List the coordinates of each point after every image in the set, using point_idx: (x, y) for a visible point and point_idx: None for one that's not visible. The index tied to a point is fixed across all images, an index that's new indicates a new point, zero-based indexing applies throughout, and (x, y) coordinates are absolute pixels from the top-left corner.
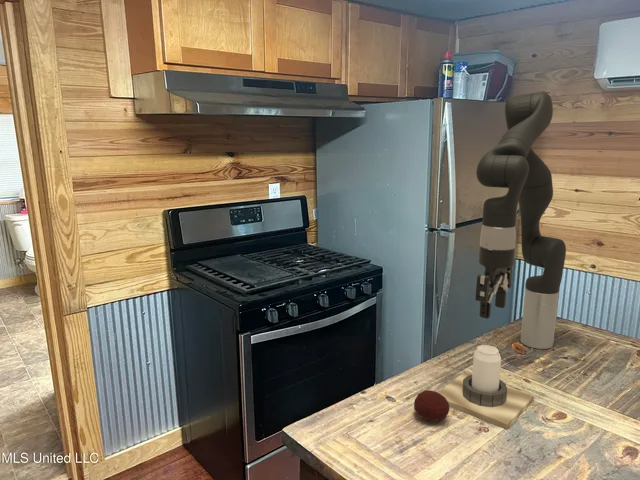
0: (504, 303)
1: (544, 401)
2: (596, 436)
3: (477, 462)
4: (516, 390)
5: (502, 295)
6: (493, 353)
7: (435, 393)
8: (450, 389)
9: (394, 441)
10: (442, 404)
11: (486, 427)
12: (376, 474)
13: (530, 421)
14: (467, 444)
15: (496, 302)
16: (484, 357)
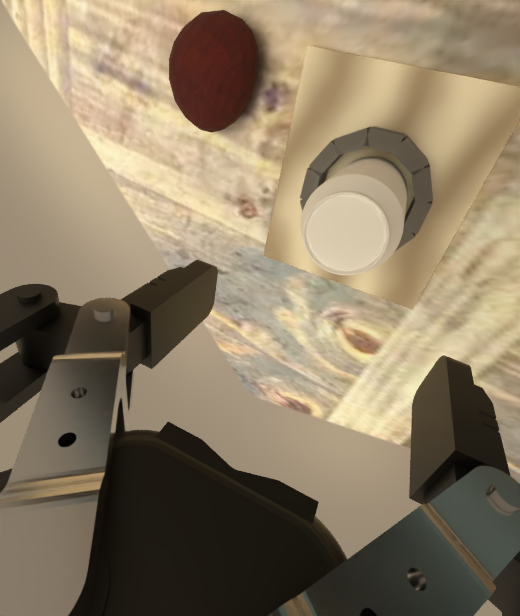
0: (415, 424)
1: (415, 324)
2: (316, 380)
3: (158, 212)
4: (429, 271)
5: (420, 466)
6: (323, 257)
7: (200, 81)
8: (367, 84)
9: (112, 36)
10: (190, 116)
11: (255, 213)
12: (35, 55)
13: (316, 291)
14: (188, 187)
15: (441, 378)
16: (302, 224)
